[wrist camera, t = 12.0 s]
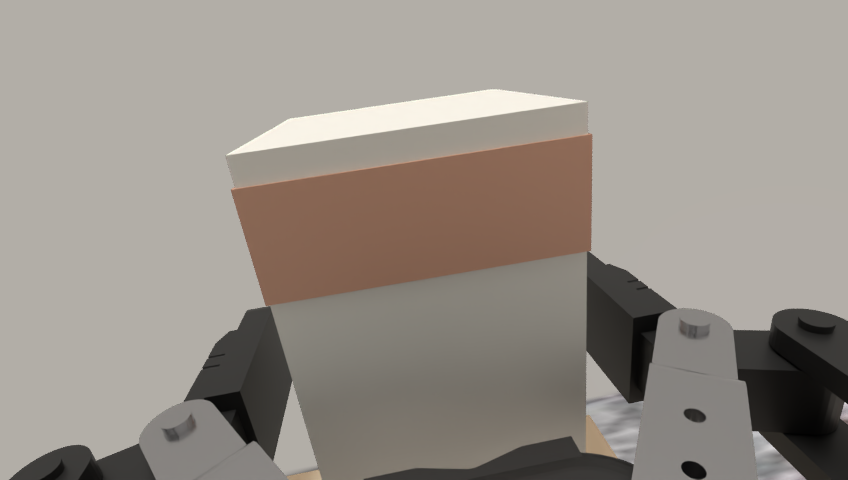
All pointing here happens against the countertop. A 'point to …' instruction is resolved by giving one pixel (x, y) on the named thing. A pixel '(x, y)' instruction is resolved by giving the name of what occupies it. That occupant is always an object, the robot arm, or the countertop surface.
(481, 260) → the carton
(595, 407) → the countertop surface
